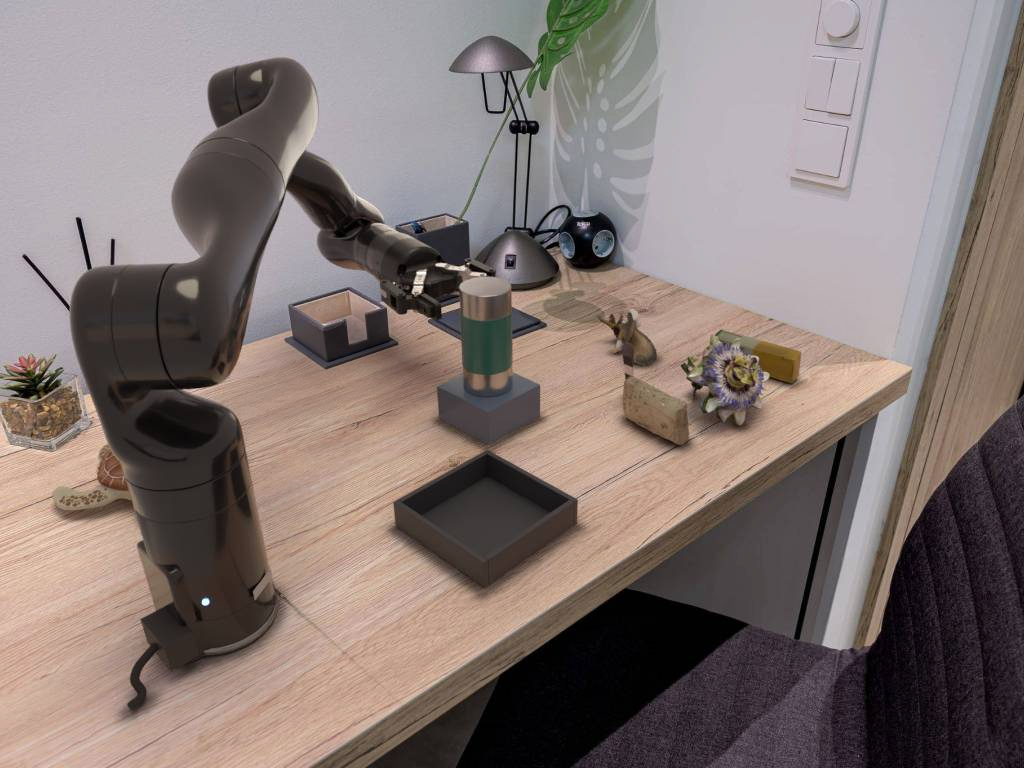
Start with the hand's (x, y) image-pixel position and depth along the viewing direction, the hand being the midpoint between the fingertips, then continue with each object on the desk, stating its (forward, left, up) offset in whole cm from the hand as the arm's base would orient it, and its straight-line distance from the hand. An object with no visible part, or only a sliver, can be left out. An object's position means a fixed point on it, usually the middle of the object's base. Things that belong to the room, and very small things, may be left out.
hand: (469, 303), depth 99 cm
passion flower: (+21, -23, -15) cm, 34 cm away
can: (-1, -4, -9) cm, 10 cm away
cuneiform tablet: (+12, -19, -15) cm, 27 cm away
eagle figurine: (+26, -5, -15) cm, 30 cm away
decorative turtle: (-37, +14, -15) cm, 42 cm away
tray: (-16, -19, -14) cm, 28 cm away
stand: (-1, -4, -14) cm, 15 cm away
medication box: (+34, -21, -15) cm, 42 cm away
